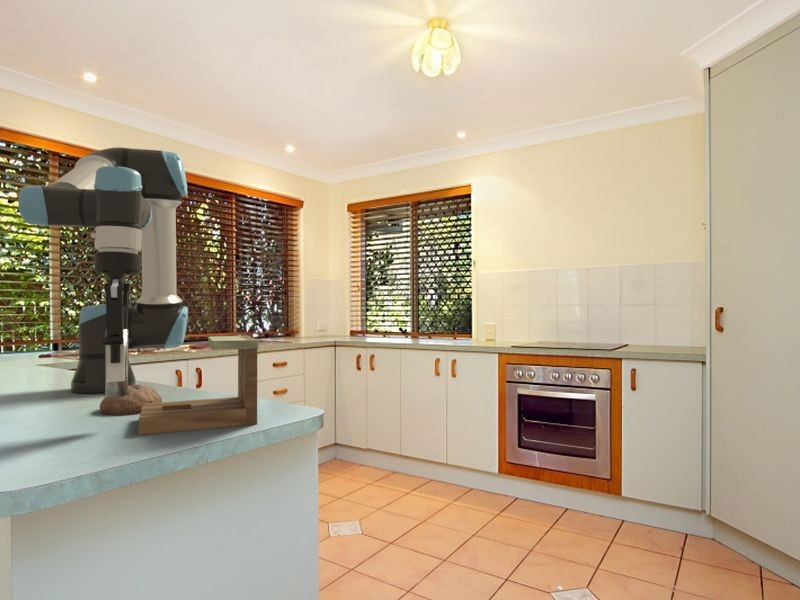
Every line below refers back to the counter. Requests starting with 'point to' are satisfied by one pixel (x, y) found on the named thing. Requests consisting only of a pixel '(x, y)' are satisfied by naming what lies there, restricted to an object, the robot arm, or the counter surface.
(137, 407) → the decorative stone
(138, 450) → the counter surface
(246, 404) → the socket station
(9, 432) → the counter surface
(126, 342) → the peg
